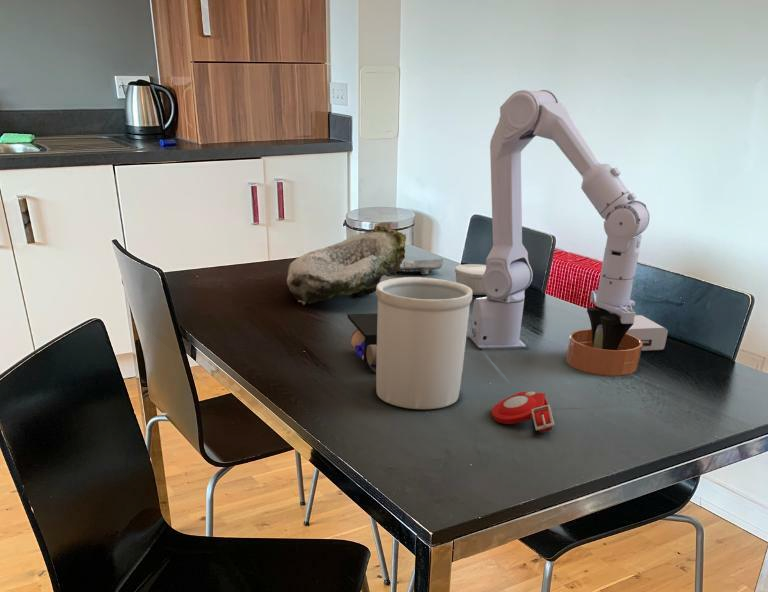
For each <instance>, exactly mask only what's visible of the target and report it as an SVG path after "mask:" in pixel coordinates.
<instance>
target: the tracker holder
mask: <svg viewBox="0 0 768 592" xmlns="http://www.w3.org/2000/svg"><path fill="white" fill-rule="evenodd" d="M552 413H553V412H552V408H551V405H550V404H549V402H548V401H547V399H546V394H545V393H544V392H535V391H520V392H517V393H514V394H513V395H510V396H509V397H506V398H504V399H502V400H500V401H499V402H497V403H496V404H495V405H494V406H493V408H492V410H491V415H492V419H493V420H494V421H495V422H496V423H499V424H506V425H512V424H519V423H524V422H526V421H529V420H533V424H534V429H535V431H536V432H537V431H538V433H539V434H542V433H545V432H549V431H551V430H552V429H553V427H554V426H555V420H554V417H553V414H552Z"/></svg>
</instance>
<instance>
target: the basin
mask: <svg viewBox="0 0 768 592" xmlns="http://www.w3.org/2000/svg"><path fill="white" fill-rule="evenodd" d="M642 345H643V344H642V342H641V340H639V339H638V338H637V337H634V336H632V335H629V334H625V335H624V337H623V339H622V341H621V343H620V345H619V347H618V349H617V350H606V349H599V348H593V344H592V329H591V328H586V329H585V328H584V329H578V330H576V331H573V332H571V334H569V338H568V345H567V351H566V358H565V359H566V363H567V364H568V365H569V366H570V367H571V368H573V369H576V370H577V371H581V372H584V373H587V374H593V375H597V376H598V375H599V376H608V377H613V376H614V377H615V376H616V377H617V376H618V377H619V376H627V375H631V374H633V373H636V372H637V370H638V368H639V364H640V359H641V354H642V351H641V350H642Z"/></svg>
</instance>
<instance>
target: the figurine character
mask: <svg viewBox="0 0 768 592" xmlns="http://www.w3.org/2000/svg"><path fill="white" fill-rule="evenodd" d="M346 317H347V319H348V320H349V321H350V322H351V323H352V324H353V326H354V327H355V328H356V329H355V330H354V331H353V333H352V334H351V337H350V344H351V347H352V349H353V350H354V351H355V355H356V356H358V357H359V358H360V359H361V360H363V362H364V363H367V364H368V367H369V368H370V369H371V371H372V372H373V373H374V374H376V359H377V317H378V312H375V313H372V312H371V313H348V314H347V316H346Z"/></svg>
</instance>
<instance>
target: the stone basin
mask: <svg viewBox="0 0 768 592" xmlns="http://www.w3.org/2000/svg"><path fill="white" fill-rule="evenodd" d="M406 241H407V234H405V233H402V232H400V231H398V230H396V229H395V228H388V227H385V226H380V225H374V227H373V230H371V229H369V230H366V231H364V232H360V233H358V234H356V235H353V236H351V237H348V238H347V239H344V240H342V241H340V242H337V243H334V244H332V245H329V246H325V247H323V248H320V249H315V250H312V251H309V252H307V253H305V254H303V255H301V256H299V257H297V258H296V259H294V260H293V261H292V262H291V263H290V264H289V266H288V268H287V278H286V284H287V286H288V290H289V292H290V293H291V294H292V295H293V297H294V298H295V300H297V302H298V303H301V304H302V305H303V306H305V305H306V304H308V305H310V304H314V303H316V302H318V301H319V302H321V301H322V302H325V301H328V300H329V299H333V298H334V296H345V295H347V296H348V295H351V297H353V298H362V297H365V296H369V295H372V294H374V293H376V287H377V284H379V283H380V282H381V279H382V278H383V277H385V276H386V277H394V276H396V273H397V272H400V271H399V270H400V267H401V265H402V264H403V262H404V259H406V256H405V255H406Z"/></svg>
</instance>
